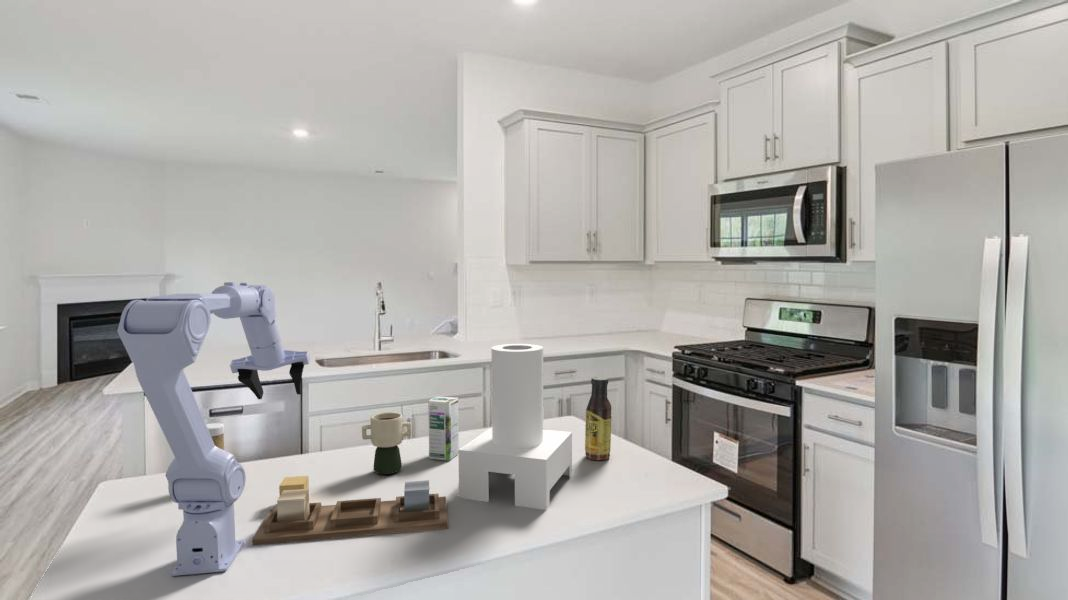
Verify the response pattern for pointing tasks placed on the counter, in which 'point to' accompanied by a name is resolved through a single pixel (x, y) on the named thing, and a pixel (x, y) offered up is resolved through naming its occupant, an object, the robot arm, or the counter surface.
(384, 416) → the character mug
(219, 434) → the sprinkles bottle
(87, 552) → the counter surface
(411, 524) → the puzzle board
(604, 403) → the sauce bottle
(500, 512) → the counter surface
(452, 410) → the syrup box
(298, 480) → the ochre block
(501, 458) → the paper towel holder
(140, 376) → the robot arm
